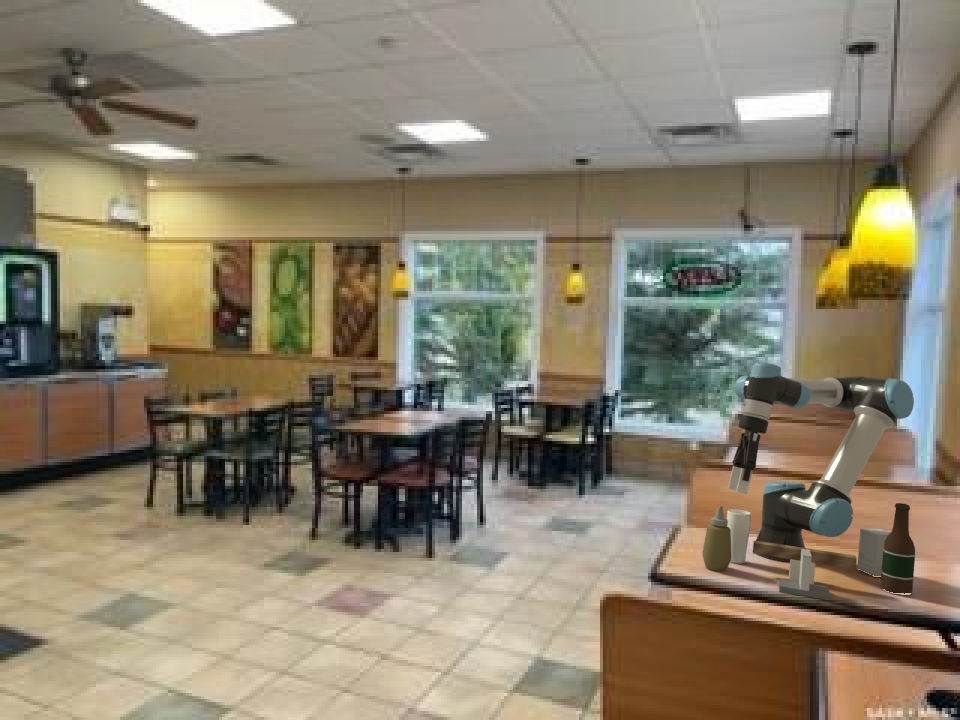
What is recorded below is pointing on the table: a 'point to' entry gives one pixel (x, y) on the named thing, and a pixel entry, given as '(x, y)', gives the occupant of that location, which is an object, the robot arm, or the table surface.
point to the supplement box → (871, 550)
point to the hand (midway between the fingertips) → (736, 491)
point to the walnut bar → (795, 554)
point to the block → (795, 571)
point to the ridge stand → (804, 581)
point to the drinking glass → (739, 533)
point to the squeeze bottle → (717, 543)
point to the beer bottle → (898, 554)
